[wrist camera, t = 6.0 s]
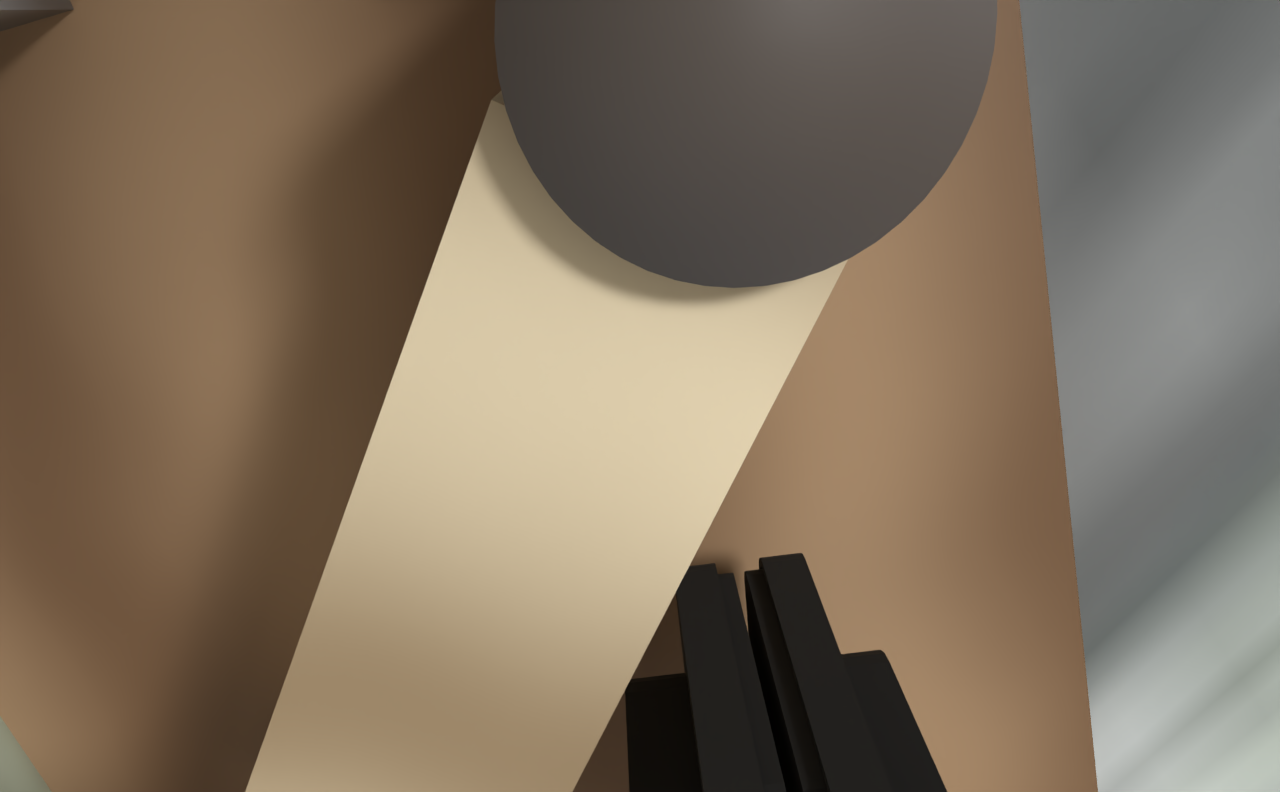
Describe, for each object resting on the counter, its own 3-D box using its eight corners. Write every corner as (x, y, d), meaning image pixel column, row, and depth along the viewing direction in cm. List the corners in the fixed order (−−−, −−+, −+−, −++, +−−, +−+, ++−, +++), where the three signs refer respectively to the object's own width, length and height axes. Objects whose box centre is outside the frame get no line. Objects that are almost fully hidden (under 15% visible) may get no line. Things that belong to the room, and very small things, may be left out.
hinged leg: (603, -210, 9) (612, -366, 5) (897, -60, 10) (1094, -104, 6) (248, 786, 13) (112, 1093, 10) (464, 844, 14) (417, 1154, 10)
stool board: (894, -454, 10) (1265, -1013, 5) (1060, 861, 18) (1272, 1249, 12) (-1044, 152, 11) (-2579, 290, 6) (-113, 1131, 19) (-401, 1590, 14)
